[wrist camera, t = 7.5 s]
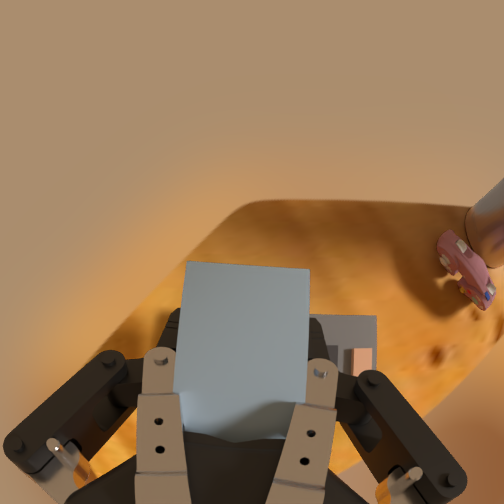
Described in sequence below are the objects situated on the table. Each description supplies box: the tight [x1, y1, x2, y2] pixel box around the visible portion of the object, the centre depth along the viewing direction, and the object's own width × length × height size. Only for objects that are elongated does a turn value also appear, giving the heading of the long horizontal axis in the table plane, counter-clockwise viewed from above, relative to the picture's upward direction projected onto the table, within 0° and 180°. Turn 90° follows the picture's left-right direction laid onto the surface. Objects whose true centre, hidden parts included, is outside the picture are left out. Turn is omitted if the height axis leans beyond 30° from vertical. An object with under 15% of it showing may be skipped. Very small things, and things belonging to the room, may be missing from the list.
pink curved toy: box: [437, 230, 496, 311], centre depth 25 cm, size 10×5×7 cm, turn 37°
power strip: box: [309, 314, 377, 377], centre depth 23 cm, size 15×8×4 cm, turn 86°
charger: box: [173, 261, 310, 443], centre depth 12 cm, size 4×6×8 cm, turn 176°
